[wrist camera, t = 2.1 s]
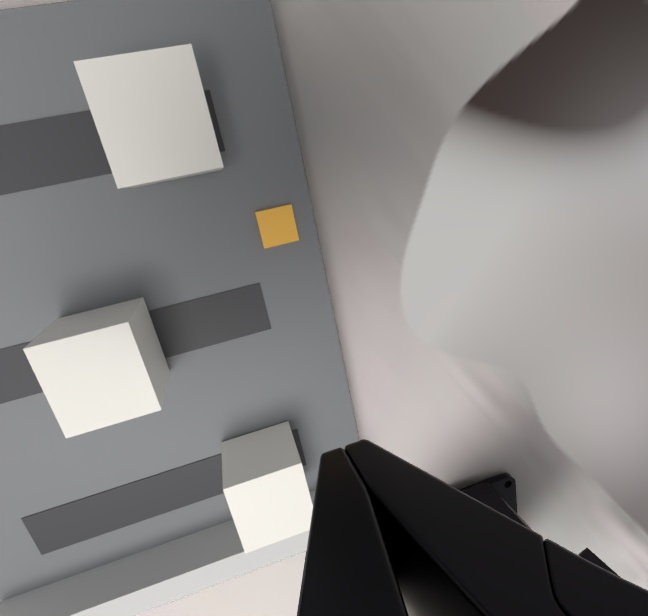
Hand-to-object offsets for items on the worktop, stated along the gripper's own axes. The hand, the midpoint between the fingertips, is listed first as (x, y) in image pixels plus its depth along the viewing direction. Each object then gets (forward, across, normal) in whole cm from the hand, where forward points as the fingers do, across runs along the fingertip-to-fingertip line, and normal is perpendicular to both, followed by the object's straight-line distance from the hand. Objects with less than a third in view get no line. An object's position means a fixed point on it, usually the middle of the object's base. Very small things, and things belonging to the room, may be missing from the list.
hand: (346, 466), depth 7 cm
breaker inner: (+10, +2, +7) cm, 13 cm away
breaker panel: (+12, +6, 0) cm, 14 cm away
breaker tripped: (+10, +6, 0) cm, 12 cm away
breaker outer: (+10, +2, -7) cm, 13 cm away
